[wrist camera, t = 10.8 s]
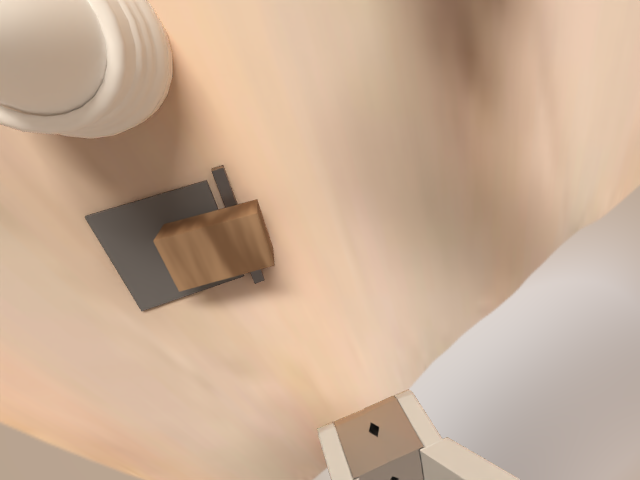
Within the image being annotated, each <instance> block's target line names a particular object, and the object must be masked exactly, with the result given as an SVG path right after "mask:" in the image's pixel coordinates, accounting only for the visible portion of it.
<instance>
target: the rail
mask: <svg viewBox="0 0 640 480" xmlns="http://www.w3.org/2000/svg"><path fill="white" fill-rule="evenodd" d="M212 173H213V176H214V178H215V181H216V184H217V186H218V189H219V192H220V194H221V197H222V199H223V202H224V205H225V207H226V208H227V207H231V206H234V205H237V202H236V199H235V196H234V194H233V191H232V188H231V185H230V183H229V180H228V177H227V174H226V172H225V169H224V166H223V165H222V166H219V167H215V168H212ZM250 273H251V275H252V278H253V280H254V283H258V282H261V281H264V277H263V274H262V271H261V269H260V270H256V271H253V272H250Z"/></svg>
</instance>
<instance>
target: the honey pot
mask: <svg viewBox="0 0 640 480" xmlns="http://www.w3.org/2000/svg"><path fill="white" fill-rule="evenodd" d="M172 77H173V59H172V51H171V48H170V44H169V40H168V36H167V33H166V31H165V29H164V27H163V25H162V23H161V21H160V19H159V17H158V15H157V13H156V11H155V10H154V8H153V7H152V6H151V5H150V3H149V2H148V1H147V0H0V124H1V125H4V126H7V127H10V128H13V129H17V130H20V131H23V132H32V133H41V134H60V135H63V136H69V137H79V138H89V139H93V138H101V137H108V136H115V135H117V134H119V133H122V132H124V131H126V130H129V129H131V128H133V127H135V126H137V125H139V124H141V123H143V122H144V121H146V120H147V119H148V118H149V117H150V116H151V115H153V114H154V113H155V112H156V111H157V110H158V109H159V108H160V106H161V104H162V103H163V101H164V100H165V98H166V96H167V95H168V92H169V88H170V84H171V80H172Z"/></svg>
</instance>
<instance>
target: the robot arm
mask: <svg viewBox="0 0 640 480" xmlns="http://www.w3.org/2000/svg"><path fill="white" fill-rule="evenodd" d="M334 425H335V426H334ZM335 428H336V429H335ZM317 431H318V436H319V440H320V443H321V446H322V450H323V453H324V457H325V460H326V464H327V467H328V471H329V474H330V477H331V480H520V479H519V478H516V477H515V476H513V475H511V474H510V473H508V472H506V471H505V470H503V469H501V468H499V467H498V466H496V465H494V464H492V463H491V462H489V461H487V460H485V459H484V458H482V457H481V456H479V455H477V454H475V453H474V452H472V451H470V450H468V449H467V448H465V447H463V446H461V445H460V444H458V443H456V442H454V441H453V440H451V439H449V438H448V437H446V438H444V439H442V438H441V436H440V434H439V433H438V431H437V430H436V428H435V427H434V425H433V423H432V422H431V420H430V419H429V417H428V416H427V414H426V412H425V411H424V409H423V408H422V406H421V405H420V403H419V401H418V400H417V398H416V397H415V395H414V394H413V392H412V391H410V390H409V389H408V390H406V391H403V392H401V393H399V394H397V395H394V396H391V397H389V398H386V399H384V400H382V401H380V402H378V403H375V404H373V405H371V406H369V407H366V408H364V409H363V410H360V411H358V412H356V413H353V414H351V415H348V416H346V417H344V418H341V419H339V420H337V421H334V423H333V422H331V423H329V424H326V425H324V426H322V427H320V428H317ZM339 439H340V440H339ZM340 442H341V443H340Z"/></svg>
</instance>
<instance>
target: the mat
mask: <svg viewBox="0 0 640 480" xmlns="http://www.w3.org/2000/svg"><path fill="white" fill-rule="evenodd" d="M215 210H218V208H217V205H216V203H215V200H214V197H213V195H212V192H211V190H210V187H209V185H208V182H207V180H206V181H203V182H199V183H196V184H192V185H189V186H186V187H182V188H179V189H175V190H172V191H169V192H165V193H162V194H158V195H155V196H152V197H148V198H145V199H141V200H138V201H135V202H131V203H128V204H124V205H121V206H118V207H114V208H111V209H107V210H104V211H101V212H97V213H94V214H90V215H87V216H85V219H86V220H87V222H88V224H89V225H90V227H91V229H92V230H93V232H94V234H95V235H96V237H97V238H98V240H99V242H100V243H101V245H102V247H103V248H104V250H105V252H106V253H107V255H108V257H109V258H110V260H111V262H112V263H113V265H114V267H115V268H116V270H117V271H118V273H119V275H120V276H121V278H122V280H123V281H124V283H125V285H126V286H127V288H128V290H129V291H130V293H131V295H132V296H133V298H134V300H135V301H136V303H137V305H138V306H139V308H140V309H141V311H144V310H147V309H150V308H153V307H156V306H159V305H161V304H164V303H167V302H170V301H173V300H176V299H179V298H182V297H185V296H188V295H191V294H193V293H196V292H199V291H202V290H205V289H208V288H211V287H214V286H217V285H220V284H222V283H225V282H228V281H231V280H234V279H237V278H240V277H243V276H244V274H242V275H238V276H235V277H231V278H227V279H224V280H220V281H216V282H213V283H209V284H206V285H202V286H198V287H195V288H191V289H187V290H184V291H180V292H179V290H178V288H177V287H176V285H175V283H174V281H173V279H172V277H171V275H170V273H169V271H168V269H167V267H166V265H165V263H164V261H163V259H162V257H161V255H160V253H159V252H158V250H157V248H156V246H155V244H154V242H153V241H154V239H155V237H156V236H157V234H158V233H159V231H160V229H161V228H162V226H163V225H164V224H166V223H170V222H174V221H178V220H182V219H185V218H189V217H193V216H197V215H200V214H204V213H208V212H212V211H215Z"/></svg>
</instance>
